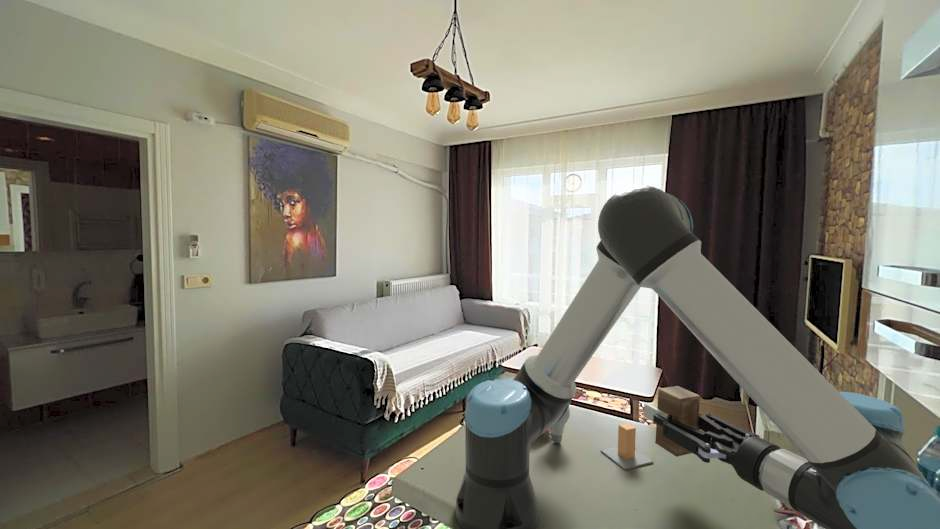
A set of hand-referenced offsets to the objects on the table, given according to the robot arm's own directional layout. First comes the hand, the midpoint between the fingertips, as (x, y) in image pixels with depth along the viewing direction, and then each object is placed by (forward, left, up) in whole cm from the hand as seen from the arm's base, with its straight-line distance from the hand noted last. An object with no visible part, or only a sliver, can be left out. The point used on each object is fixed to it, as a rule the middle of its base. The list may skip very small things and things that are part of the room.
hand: (656, 407), depth 83 cm
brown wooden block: (+4, -3, -6) cm, 8 cm away
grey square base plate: (-6, +4, -15) cm, 16 cm away
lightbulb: (-22, +2, -15) cm, 27 cm away
